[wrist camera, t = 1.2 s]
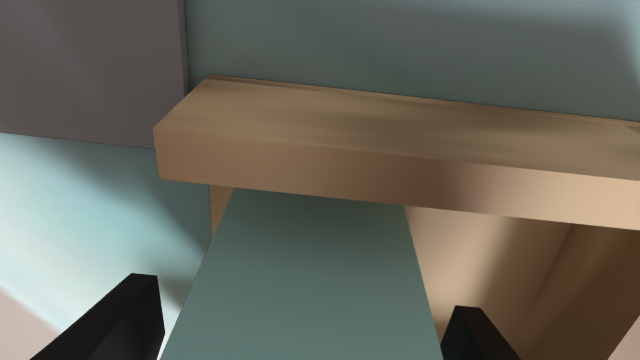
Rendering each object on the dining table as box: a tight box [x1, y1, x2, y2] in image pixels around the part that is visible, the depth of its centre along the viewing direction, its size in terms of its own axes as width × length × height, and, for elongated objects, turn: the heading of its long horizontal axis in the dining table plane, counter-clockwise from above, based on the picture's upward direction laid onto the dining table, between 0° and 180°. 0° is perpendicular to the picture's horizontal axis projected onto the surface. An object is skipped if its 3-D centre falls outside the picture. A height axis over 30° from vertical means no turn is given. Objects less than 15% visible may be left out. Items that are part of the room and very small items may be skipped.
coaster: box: [0, 0, 190, 149], centre depth 9 cm, size 6×6×1 cm
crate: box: [153, 74, 640, 360], centre depth 11 cm, size 11×10×3 cm
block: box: [160, 187, 443, 360], centre depth 9 cm, size 4×4×6 cm
